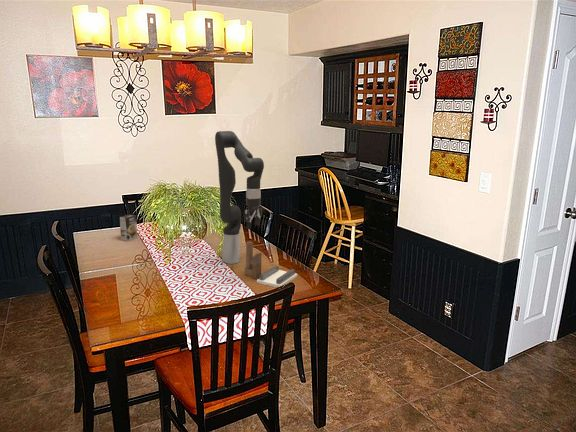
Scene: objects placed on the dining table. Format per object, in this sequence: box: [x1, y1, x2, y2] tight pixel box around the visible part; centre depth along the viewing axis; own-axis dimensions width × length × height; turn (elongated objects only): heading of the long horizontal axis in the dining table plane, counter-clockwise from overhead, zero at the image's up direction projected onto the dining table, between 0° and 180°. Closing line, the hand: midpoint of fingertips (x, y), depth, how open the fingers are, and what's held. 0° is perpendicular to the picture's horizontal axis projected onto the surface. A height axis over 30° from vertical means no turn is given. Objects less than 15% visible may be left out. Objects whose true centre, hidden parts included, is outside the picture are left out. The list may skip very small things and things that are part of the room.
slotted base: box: [256, 265, 298, 288], centre depth 231 cm, size 14×19×4 cm
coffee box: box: [119, 214, 138, 242], centre depth 294 cm, size 9×6×16 cm
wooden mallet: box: [244, 241, 263, 280], centre depth 234 cm, size 4×11×18 cm, turn 39°
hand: (253, 227), depth 230 cm, fingers open, 8 cm apart
